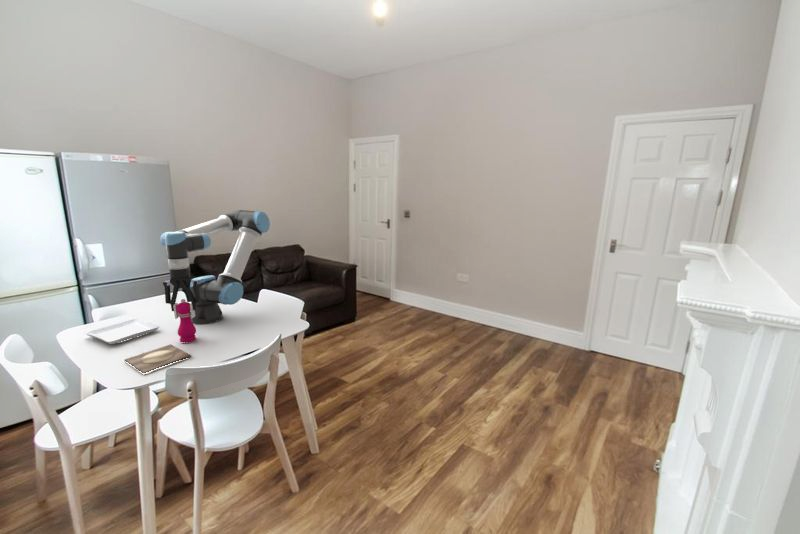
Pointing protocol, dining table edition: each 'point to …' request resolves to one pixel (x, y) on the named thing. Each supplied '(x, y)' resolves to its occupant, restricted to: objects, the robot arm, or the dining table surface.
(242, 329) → the dining table surface
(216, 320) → the robot arm
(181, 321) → the pepper mill
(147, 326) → the salad plate
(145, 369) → the walnut stand
